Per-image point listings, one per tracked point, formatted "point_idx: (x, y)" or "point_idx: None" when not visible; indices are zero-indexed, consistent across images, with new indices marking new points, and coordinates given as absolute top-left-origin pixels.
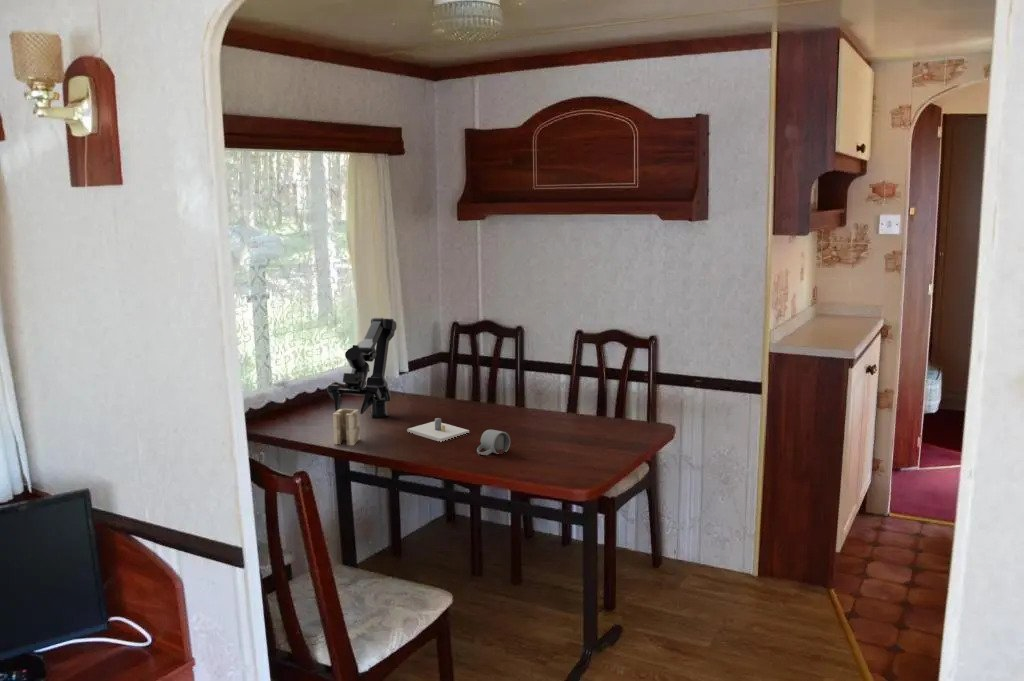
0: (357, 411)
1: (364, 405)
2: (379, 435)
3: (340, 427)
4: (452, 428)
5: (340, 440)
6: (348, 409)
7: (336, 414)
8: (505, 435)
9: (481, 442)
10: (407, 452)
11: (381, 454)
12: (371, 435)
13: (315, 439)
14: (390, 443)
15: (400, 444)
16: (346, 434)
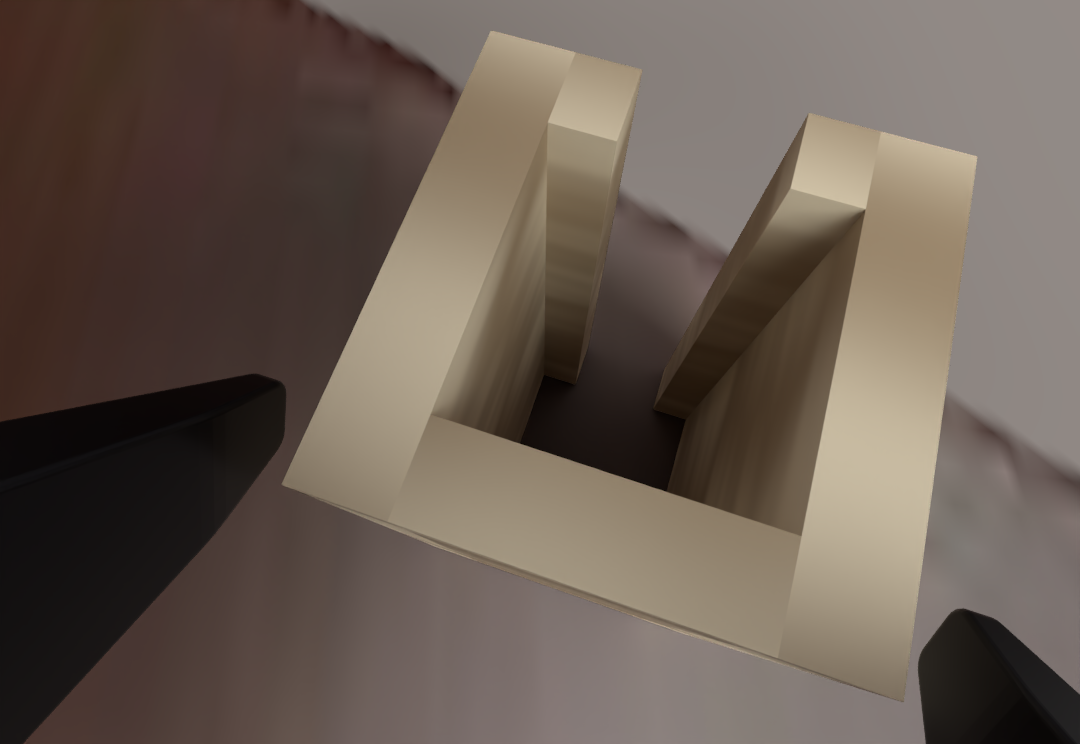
0: (347, 362)
1: (18, 420)
2: (162, 705)
3: (705, 312)
4: None
5: (669, 365)
6: (608, 530)
7: (871, 142)
8: None
9: None
10: (12, 61)
11: (255, 41)
12: (270, 723)
13: (1020, 638)
14: (100, 339)
15: (3, 291)
16: (598, 291)
